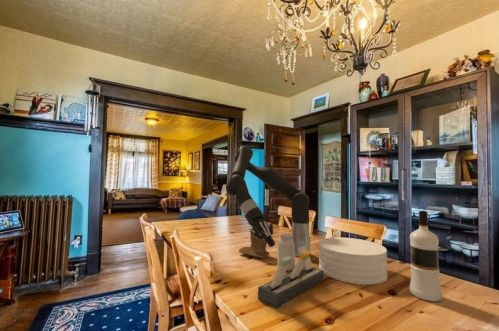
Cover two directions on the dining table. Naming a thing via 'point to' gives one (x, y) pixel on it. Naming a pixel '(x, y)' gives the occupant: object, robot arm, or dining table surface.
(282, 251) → the pill bottle
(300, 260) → the lever amber
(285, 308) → the dining table surface
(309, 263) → the lever slate
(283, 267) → the lever sage
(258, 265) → the dining table surface
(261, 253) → the brown boot
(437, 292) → the vodka
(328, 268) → the plate stack
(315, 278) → the switch strip
